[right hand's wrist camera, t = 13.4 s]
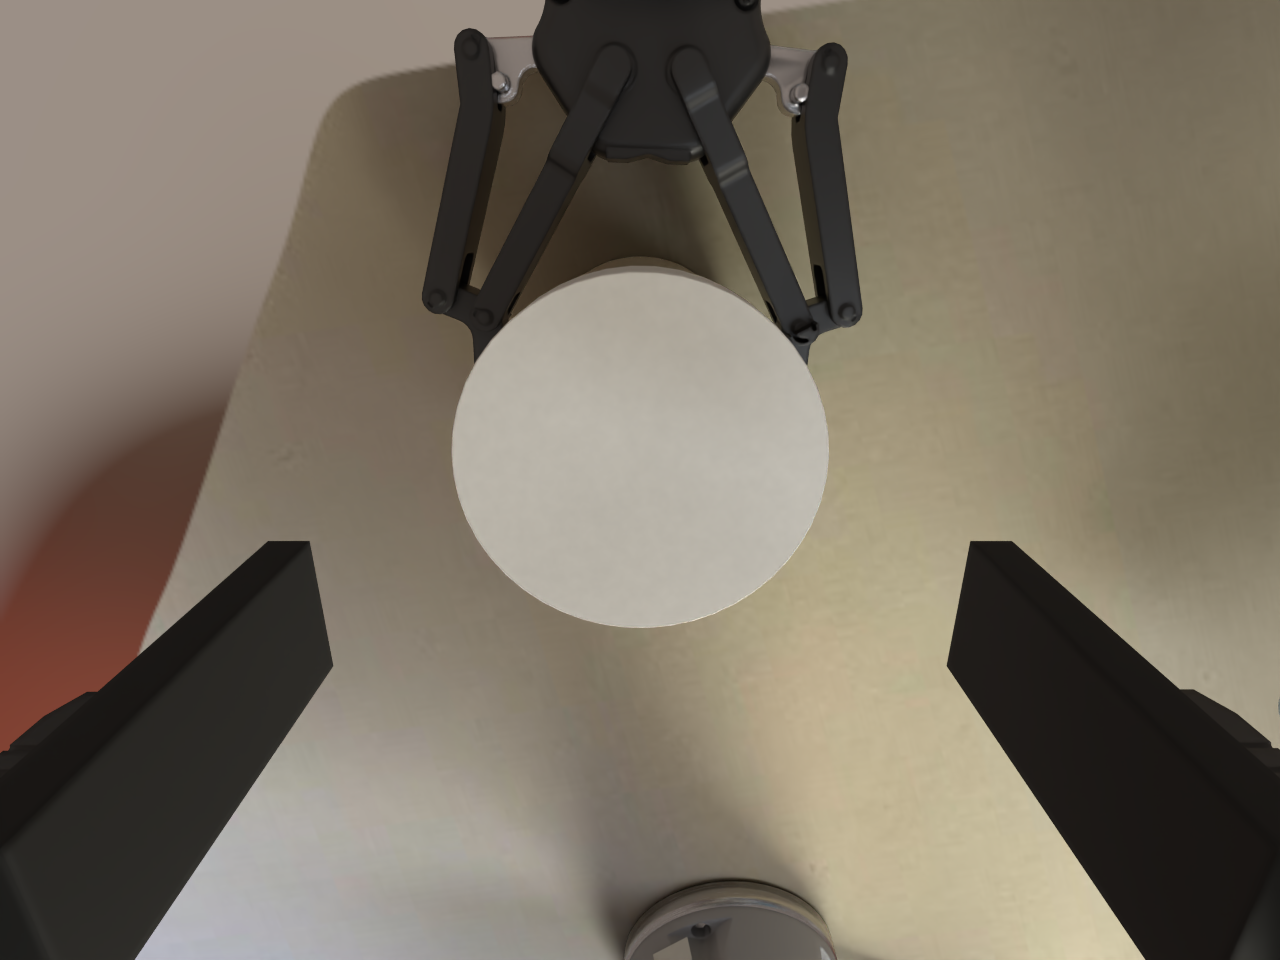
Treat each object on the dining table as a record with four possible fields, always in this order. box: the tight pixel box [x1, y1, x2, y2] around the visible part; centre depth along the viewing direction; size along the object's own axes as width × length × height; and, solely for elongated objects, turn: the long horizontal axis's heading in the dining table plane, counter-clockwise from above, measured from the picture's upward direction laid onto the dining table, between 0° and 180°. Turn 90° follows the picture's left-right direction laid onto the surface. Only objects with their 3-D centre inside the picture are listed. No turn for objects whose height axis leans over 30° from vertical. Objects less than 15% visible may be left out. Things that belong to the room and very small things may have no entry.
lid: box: [451, 266, 829, 628], centre depth 21 cm, size 11×11×2 cm
